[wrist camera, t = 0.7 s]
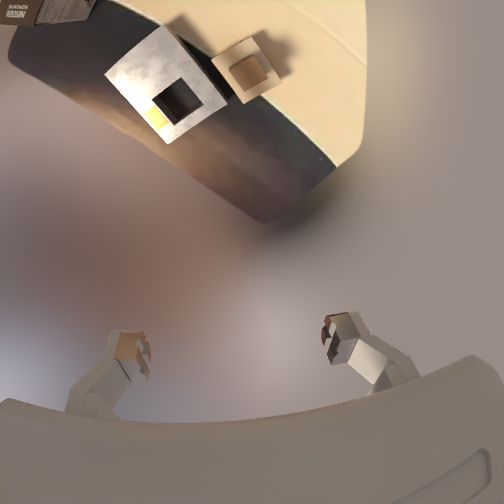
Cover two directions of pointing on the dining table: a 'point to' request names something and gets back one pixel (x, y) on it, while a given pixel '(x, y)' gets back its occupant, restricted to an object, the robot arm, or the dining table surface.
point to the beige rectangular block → (239, 53)
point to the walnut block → (248, 72)
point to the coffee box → (43, 11)
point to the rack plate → (165, 82)
